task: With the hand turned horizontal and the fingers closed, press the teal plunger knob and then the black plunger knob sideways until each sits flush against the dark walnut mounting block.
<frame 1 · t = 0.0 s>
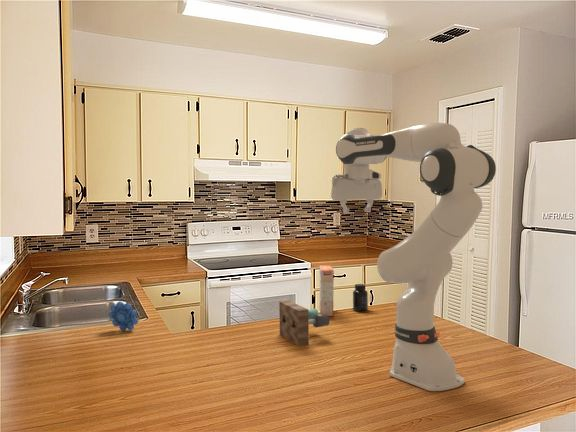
hand: (356, 212, 170), 48 cm above the worktop, tool pointing down, fingers open, 8 cm apart
blue gear: (123, 331, 190), on the worktop
mount: (293, 339, 177), on the worktop
black knob: (311, 321, 176), point 7 cm above the worktop, slide at 0.0 cm
teal knob: (301, 316, 183), point 7 cm above the worktop, slide at 0.0 cm
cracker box: (326, 313, 215), on the worktop
supplement bottle: (360, 310, 219), on the worktop
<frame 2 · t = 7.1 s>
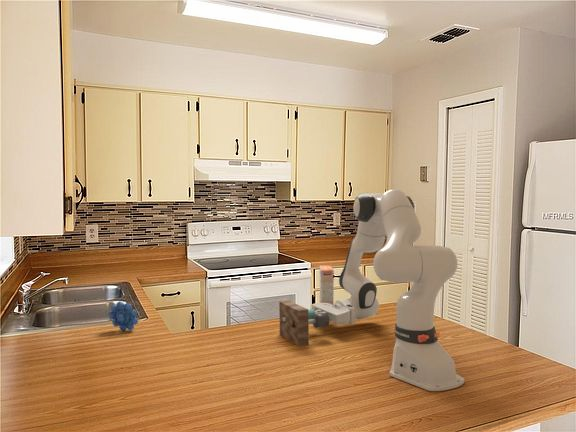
hand: (313, 315, 185), 7 cm above the worktop, tool horizontal, fingers closed, pressing on teal knob
teal knob: (298, 317, 182), point 7 cm above the worktop, slide at 1.3 cm, touching gripper
everything else where it was.
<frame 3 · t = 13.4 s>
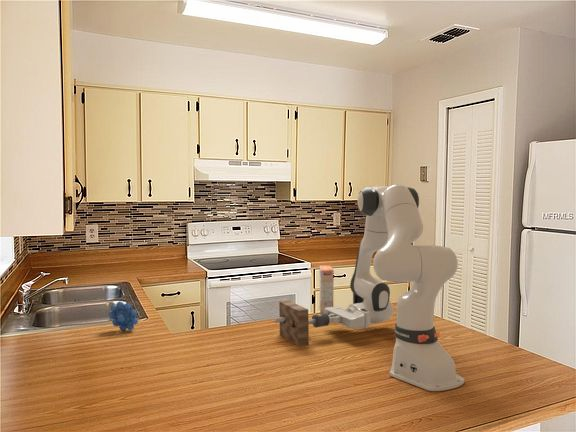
hand: (326, 319, 179), 7 cm above the worktop, tool horizontal, fingers closed, pressing on black knob
black knob: (311, 321, 176), point 7 cm above the worktop, slide at 0.1 cm, touching gripper
teal knob: (290, 318, 181), point 7 cm above the worktop, slide at 4.7 cm
everything else where it was.
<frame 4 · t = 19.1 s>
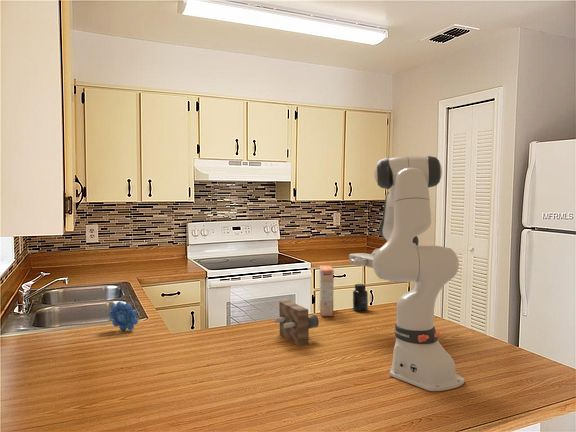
hand: (352, 262, 183), 28 cm above the worktop, tool horizontal, fingers closed
black knob: (300, 323, 174), point 7 cm above the worktop, slide at 4.7 cm
everything else where it was.
at the end: teal knob slide at 4.7 cm; black knob slide at 4.7 cm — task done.
